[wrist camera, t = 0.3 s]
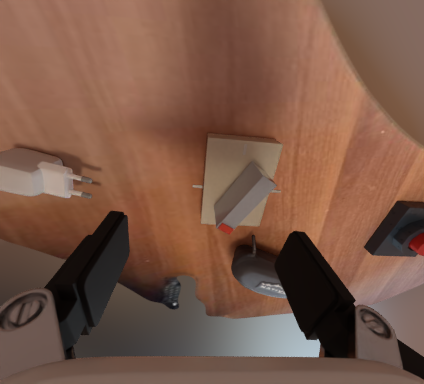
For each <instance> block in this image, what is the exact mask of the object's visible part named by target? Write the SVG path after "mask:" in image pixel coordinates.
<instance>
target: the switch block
mask: <svg viewBox="0 0 424 384" xmlns="http://www.w3.org/2000/svg"><path fill="white" fill-rule="evenodd" d="M421 233H424V203H423V202H407V201H397V202H396V204H395V205H394V207H393V208H392V209H391V211H390V212H389V214H388V215H387V216H386V218H385V219H384V220H383V222H382V223H381V225H380V226H379V227H378V229H377V230H376V232H375V233H374V234H373V236H372V237H371V238H370V240H369V241H368V243H367V244H366V245H365V247H364V248H365V249H366V250H367V251H368V252H369V253H371V254H372V255H377V256H410V257H415V256H416V255H417V254H418V253H416V252H415V251H414V250H412V249H411V248H410V247H409V246H408V245H409V243H410V241H411V240H412V239H413V238H415V237H416V236H418V235H419V234H421Z"/></svg>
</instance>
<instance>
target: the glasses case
mask: <svg viewBox="0 0 424 384" xmlns="http://www.w3.org/2000/svg"><path fill="white" fill-rule="evenodd" d="M252 242H253V244H252V246H253V247H251V246H248V245H241V246H239V247H238V248H237V249H236V251H235V254H234V258H233V261H232V266H231V269H232V273H233V275H234V277H235V278H236V279H237V280H238V281H239V282H240V283H241V284H242V285H243V286H244V287H246V288H248V289H250V290H252V291H254V292H257V293H260V294H264V295H267V296H272V297H278V298H287V297H286V294H285V292H284V290H283V287H282V285H281V282H280V280H279V278H278V275H277V273H276V271H275V267H274V264H275V261H276V259H277V257H278V256H275V255H273V254H270V253H267V252H265V251H262V250H260V249H257V248H256V243H255V235H252Z"/></svg>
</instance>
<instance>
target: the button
mask: <svg viewBox="0 0 424 384" xmlns="http://www.w3.org/2000/svg"><path fill="white" fill-rule="evenodd" d="M408 246H409V247H410V248H411V249H412V250H414V251H415V252H416V253H418V254H419V255H422V256H424V233H421V234H419V235H418V236H416V237H415V238H413V239H412V240H411V241H410V243H409V245H408Z"/></svg>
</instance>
